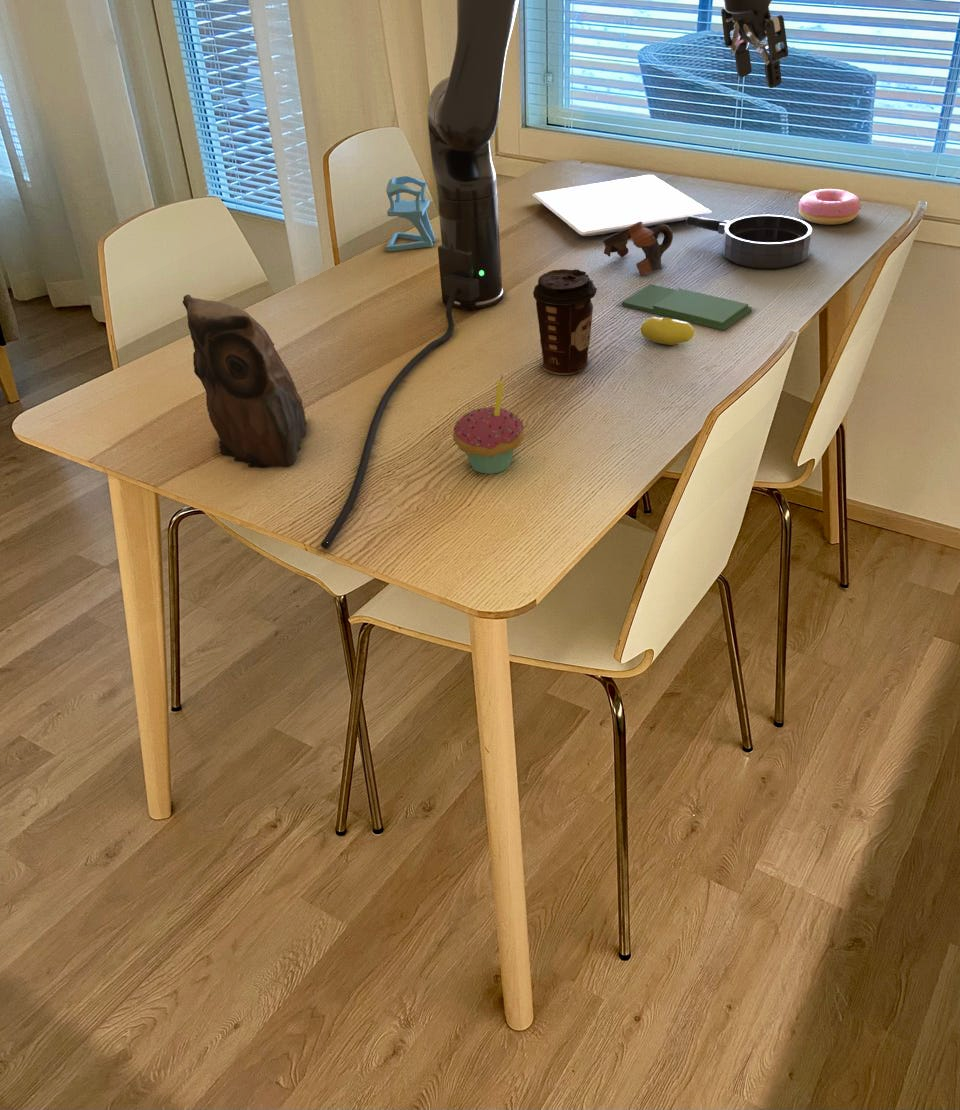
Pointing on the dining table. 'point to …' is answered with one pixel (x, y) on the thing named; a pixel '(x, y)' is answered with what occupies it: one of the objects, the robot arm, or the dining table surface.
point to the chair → (410, 213)
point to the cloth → (688, 306)
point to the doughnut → (829, 206)
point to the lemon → (666, 330)
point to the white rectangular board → (619, 205)
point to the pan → (767, 241)
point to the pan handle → (707, 223)
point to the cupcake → (489, 436)
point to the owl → (245, 385)
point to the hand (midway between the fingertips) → (759, 80)
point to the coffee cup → (564, 319)
